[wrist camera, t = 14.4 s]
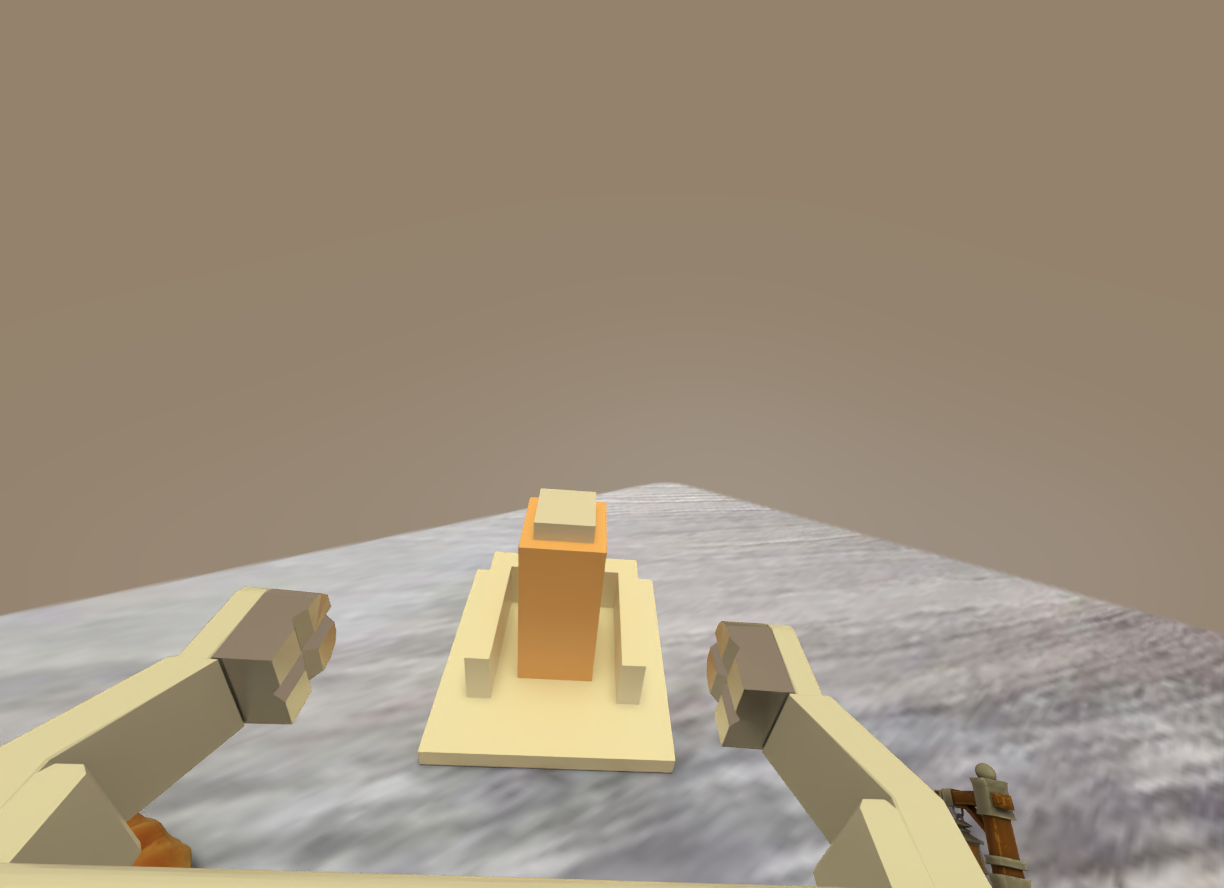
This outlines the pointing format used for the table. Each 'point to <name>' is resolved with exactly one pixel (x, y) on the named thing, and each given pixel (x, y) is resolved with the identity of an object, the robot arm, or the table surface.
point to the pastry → (158, 845)
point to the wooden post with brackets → (990, 826)
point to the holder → (553, 687)
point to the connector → (560, 585)
